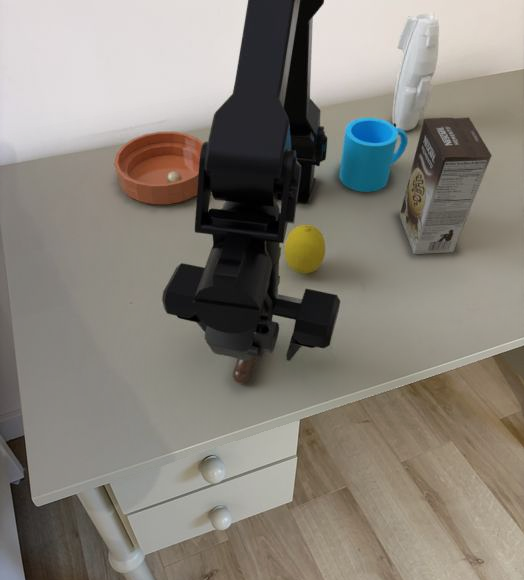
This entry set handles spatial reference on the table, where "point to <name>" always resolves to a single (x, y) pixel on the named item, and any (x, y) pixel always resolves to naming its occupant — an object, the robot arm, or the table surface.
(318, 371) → the table surface
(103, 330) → the table surface
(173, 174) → the bead
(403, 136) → the mug
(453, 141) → the coffee box
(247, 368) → the brown sausage
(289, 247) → the lemon
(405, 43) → the white tall rounded piece
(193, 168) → the bowl
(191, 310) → the robot arm
